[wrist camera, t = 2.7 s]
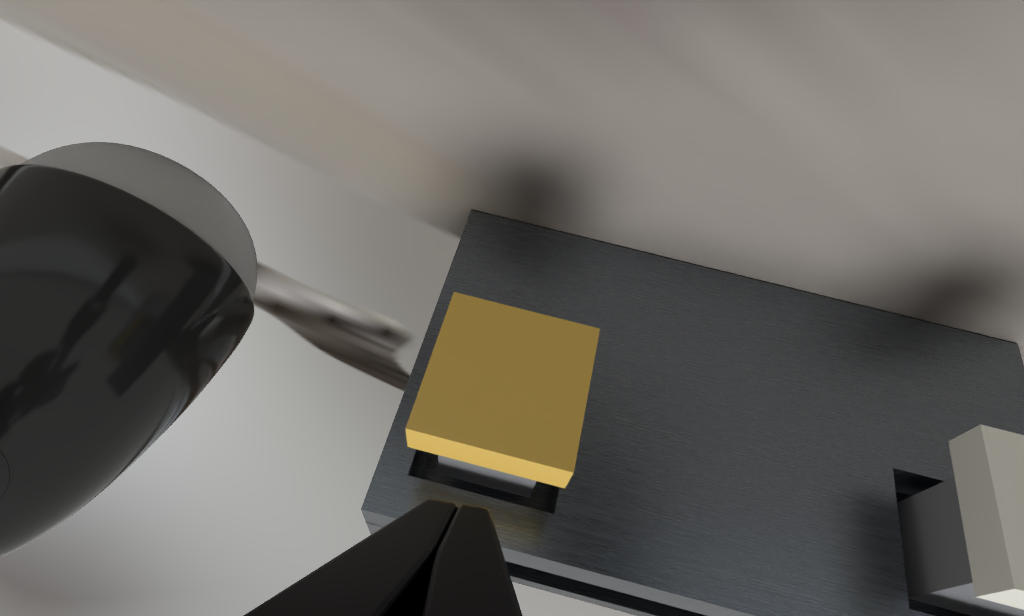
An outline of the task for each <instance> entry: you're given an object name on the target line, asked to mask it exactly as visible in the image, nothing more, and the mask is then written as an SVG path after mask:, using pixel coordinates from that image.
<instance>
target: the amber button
mask: <svg viewBox="0 0 1024 616" xmlns="http://www.w3.org/2000/svg"><path fill="white" fill-rule="evenodd" d="M599 332H600V329H599V328H595V327H591V326H587V325H583V324H580V323H576V322H572V321H568V320H564V319H560V318H556V317H552V316H548V315H544V314H540V313H536V312H532V311H528V310H524V309H520V308H516V307H512V306H508V305H504V304H500V303H496V302H492V301H488V300H484V299H480V298H476V297H472V296H468V295H464V294H460V293H457V292H454V293H453V296H452V298H451V301H450V304H449V307H448V310H447V312H446V315H445V318H444V321H443V324H442V327H441V329H440V332H439V335H438V338H437V341H436V343H435V346H434V349H433V352H432V355H431V358H430V360H429V363H428V366H427V369H426V372H425V375H424V377H423V380H422V383H421V386H420V389H419V391H418V394H417V397H416V400H415V403H414V406H413V408H412V411H411V414H410V417H409V420H408V422H407V425H406V428H405V430H406V438H407V446H408V447H410V448H414V449H417V450H421V451H425V452H429V453H433V454H436V455H438V474H441V475H445V476H448V477H452V478H456V479H460V480H464V481H467V482H471V483H475V484H479V485H482V486H486V487H490V488H494V489H497V490H501V491H505V492H509V493H512V494H516V495H520V496H524V497H527V498H530V495H531V493H532V491H533V488H534V486H535V484H536V481H538V482H542V483H546V484H550V485H553V486H557V487H561V488H565V487H566V486H567V484H568V482H569V480H570V479H571V477H572V475H573V473H574V469H575V464H576V458H577V453H578V447H579V442H580V436H581V431H582V425H583V420H584V414H585V409H586V403H587V398H588V392H589V387H590V381H591V376H592V370H593V365H594V359H595V354H596V348H597V343H598V337H599Z"/></svg>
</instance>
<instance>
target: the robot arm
mask: <svg viewBox="0 0 1024 616" xmlns="http://www.w3.org/2000/svg"><path fill="white" fill-rule="evenodd" d="M244 616H522V613H521V610H520V607H519V603H518V600H517V597H516V594H515V590H514V587H513V584H512V581H511V578H510V574H509V571H508V568H507V565H506V561H505V558H504V555H503V552H502V549H501V545H500V542H499V539H498V536H497V532H496V529H495V526H494V523H493V520H492V516H491V513H490V511H489V510H488V509H487V508H484V507H478V506H472V505H466V504H462V505H460V506H459V507H457V505H456V504H455V503H453V502H448V501H442V500H436V499H428V500H425V501H424V502H422V503H421V504H419V505H417V506H416V507H414V508H413V509H411V510H410V511H408V512H406V513H405V514H403V515H402V516H400V517H398V518H397V519H395V520H394V521H392V522H391V523H389V524H387V525H386V526H384V527H383V528H381V529H380V530H378V531H376V532H375V533H373V534H372V535H370V536H369V537H367V538H365V539H364V540H362V541H361V542H359V543H357V544H356V545H354V546H353V547H351V548H350V549H348V550H347V551H345V552H343V553H342V554H340V555H339V556H337V557H336V558H334V559H332V560H331V561H329V562H328V563H326V564H324V565H323V566H321V567H320V568H318V569H317V570H315V571H313V572H312V573H310V574H309V575H307V576H306V577H304V578H302V579H301V580H299V581H298V582H296V583H294V584H293V585H291V586H290V587H288V588H287V589H285V590H283V591H282V592H280V593H279V594H277V595H275V596H274V597H272V598H271V599H269V600H268V601H266V602H264V603H263V604H261V605H260V606H258V607H257V608H255V609H253V610H252V611H250V612H249V613H247V614H246V615H244Z"/></svg>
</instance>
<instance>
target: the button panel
mask: <svg viewBox="0 0 1024 616" xmlns="http://www.w3.org/2000/svg"><path fill="white" fill-rule="evenodd" d="M454 292H457V293H460V294H464V295H468V296H472V297H476V298H480V299H484V300H488V301H492V302H496V303H500V304H504V305H508V306H512V307H516V308H520V309H524V310H528V311H532V312H536V313H540V314H544V315H548V316H552V317H556V318H560V319H564V320H568V321H572V322H576V323H580V324H583V325H587V326H591V327H595V328H599V329H600V332H599V337H598V343H597V348H596V354H595V359H594V365H593V370H592V376H591V381H590V387H589V392H588V398H587V403H586V409H585V414H584V420H583V425H582V431H581V436H580V442H579V447H578V453H577V458H576V464H575V469H574V473H573V475H572V477H571V479H570V480H569V482H568V484H567V486H566V487H565V488H561V487H557V486H553V485H550V484H546V483H542V482H538V481H536V484H535V486H534V488H533V491H532V493H531V495H530V498H527V497H524V496H520V495H516V494H512V493H509V492H505V491H501V490H497V489H494V488H490V487H486V486H482V485H479V484H475V483H471V482H467V481H464V480H460V479H456V478H452V477H448V476H445V475H441V474H438V455H436V454H433V453H429V452H425V451H421V450H417V449H414V448H410V447H408V446H407V438H406V430H405V428H406V425H407V422H408V420H409V417H410V414H411V411H412V408H413V406H414V403H415V400H416V397H417V394H418V391H419V389H420V386H421V383H422V380H423V377H424V375H425V372H426V369H427V366H428V363H429V360H430V358H431V355H432V352H433V349H434V346H435V343H436V341H437V338H438V335H439V332H440V329H441V327H442V324H443V321H444V318H445V315H446V312H447V310H448V307H449V304H450V301H451V298H452V296H453V293H454ZM980 424H981V425H985V426H989V427H993V428H997V429H1001V430H1005V431H1009V432H1013V433H1017V434H1021V435H1024V365H1023V362H1022V358H1021V354H1020V350H1019V347H1018V344H1015V343H1011V342H1007V341H1003V340H999V339H995V338H991V337H986V336H982V335H978V334H974V333H970V332H966V331H962V330H958V329H954V328H950V327H946V326H942V325H938V324H933V323H929V322H925V321H921V320H917V319H913V318H909V317H905V316H901V315H897V314H893V313H889V312H885V311H881V310H876V309H872V308H868V307H864V306H860V305H856V304H852V303H848V302H844V301H840V300H836V299H832V298H828V297H824V296H819V295H815V294H811V293H807V292H803V291H799V290H795V289H791V288H787V287H783V286H779V285H775V284H771V283H766V282H762V281H758V280H754V279H750V278H746V277H742V276H738V275H734V274H730V273H726V272H722V271H718V270H714V269H709V268H705V267H701V266H697V265H693V264H689V263H685V262H681V261H677V260H673V259H669V258H665V257H661V256H657V255H652V254H648V253H644V252H640V251H636V250H632V249H628V248H624V247H620V246H616V245H612V244H608V243H604V242H599V241H595V240H591V239H587V238H583V237H579V236H575V235H571V234H567V233H563V232H559V231H555V230H551V229H547V228H542V227H538V226H534V225H530V224H526V223H522V222H518V221H514V220H510V219H506V218H502V217H498V216H494V215H489V214H485V213H481V212H477V211H473V210H471V212H470V215H469V218H468V221H467V223H466V226H465V229H464V231H463V234H462V237H461V240H460V242H459V245H458V248H457V250H456V253H455V256H454V259H453V261H452V264H451V267H450V269H449V272H448V275H447V278H446V280H445V283H444V286H443V289H442V291H441V294H440V297H439V299H438V302H437V305H436V307H435V310H434V313H433V316H432V319H431V321H430V324H429V326H428V329H427V332H426V335H425V338H424V341H423V343H422V345H421V348H420V351H419V354H418V356H417V359H416V362H415V364H414V367H413V370H412V373H411V375H410V378H409V381H408V383H407V386H406V389H405V392H404V394H403V397H402V400H401V403H400V405H399V408H398V411H397V414H396V416H395V419H394V421H393V424H392V427H391V430H390V432H389V435H388V438H387V440H386V443H385V446H384V449H383V451H382V454H381V457H380V459H379V462H378V465H377V468H376V470H375V473H374V476H373V478H372V481H371V484H370V487H369V490H368V492H367V495H366V498H365V500H364V503H363V506H362V508H361V510H362V513H363V515H364V518H365V520H366V523H367V525H368V528H369V531H370V533H371V535H372V534H373V533H375V532H376V531H378V530H380V529H381V528H383V527H384V526H386V525H387V524H389V523H391V522H392V521H394V520H395V519H397V518H398V517H400V516H402V515H403V514H405V513H406V512H408V511H410V510H411V509H413V508H414V507H416V506H417V505H419V504H421V503H422V502H424V501H425V500H428V499H436V500H442V501H448V502H453V503H455V504H456V505H457V507H459V506H460V505H462V504H466V505H472V506H478V507H484V508H487V509H488V510H489V511H490V513H491V516H492V520H493V523H494V526H495V529H496V532H497V536H498V539H499V542H500V545H501V549H502V552H503V555H504V558H505V561H506V565H507V568H508V571H509V574H510V578H511V581H512V582H515V583H519V584H523V585H526V586H530V587H534V588H538V589H541V590H545V591H549V592H552V593H556V594H559V595H563V596H567V597H570V598H574V599H578V600H582V601H585V602H589V603H593V604H596V605H600V606H603V607H607V608H611V609H614V610H619V611H622V612H626V613H629V614H633V615H637V616H971V615H968V614H964V613H960V612H956V611H953V610H949V609H945V608H941V607H938V606H934V605H930V604H926V603H923V602H919V601H915V600H911V599H908V593H907V584H906V576H905V567H904V559H903V550H902V542H901V533H900V524H899V516H898V507H897V502H900V501H902V500H904V499H906V498H909V497H911V496H913V495H915V494H917V493H920V492H922V491H924V490H926V489H929V488H931V487H933V486H935V485H937V484H940V483H942V482H944V481H946V480H948V479H951V478H953V477H954V471H953V465H952V459H951V454H950V448H949V442H948V441H950V440H952V439H954V438H956V437H957V436H959V435H961V434H963V433H965V432H967V431H969V430H971V429H973V428H975V427H976V426H978V425H980Z"/></svg>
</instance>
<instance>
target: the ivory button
mask: <svg viewBox="0 0 1024 616" xmlns="http://www.w3.org/2000/svg"><path fill="white" fill-rule="evenodd" d="M948 442H949V448H950V454H951V459H952V465H953V471H954V477H953V478H951V479H948V480H946V481H944V482H942V483H940V484H937V485H935V486H933V487H931V488H929V489H926V490H924V491H922V492H920V493H917V494H915V495H913V496H911V497H909V498H906V499H904V500H902V501H900V502H897V507H898V516H899V524H900V533H901V542H902V550H903V559H904V567H905V576H906V584H907V593H908V599H911V600H915V601H919V602H923V603H926V604H930V605H934V606H938V607H941V608H945V609H949V610H953V611H956V612H960V613H964V614H968V615H971V616H1024V435H1021V434H1017V433H1013V432H1009V431H1005V430H1001V429H997V428H993V427H989V426H985V425H981V424H980V425H978V426H976V427H975V428H973V429H971V430H969V431H967V432H965V433H963V434H961V435H959V436H957V437H956V438H954V439H952V440H950V441H948Z"/></svg>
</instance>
